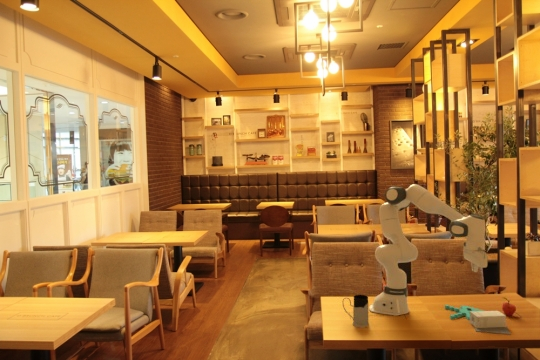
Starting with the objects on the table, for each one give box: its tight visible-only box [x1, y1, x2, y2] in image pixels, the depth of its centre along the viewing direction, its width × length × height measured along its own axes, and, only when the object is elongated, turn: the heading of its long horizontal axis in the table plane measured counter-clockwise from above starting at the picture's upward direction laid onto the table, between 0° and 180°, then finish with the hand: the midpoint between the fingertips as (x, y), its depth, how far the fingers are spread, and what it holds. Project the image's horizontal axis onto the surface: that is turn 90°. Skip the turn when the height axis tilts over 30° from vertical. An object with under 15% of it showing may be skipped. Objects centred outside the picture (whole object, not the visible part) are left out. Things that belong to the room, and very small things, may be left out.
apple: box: [501, 297, 517, 317], centre depth 263 cm, size 8×7×10 cm
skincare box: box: [469, 310, 507, 328], centre depth 247 cm, size 8×7×16 cm
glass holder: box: [342, 294, 370, 328], centre depth 252 cm, size 9×14×15 cm, turn 70°
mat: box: [473, 325, 512, 336], centre depth 244 cm, size 16×14×1 cm
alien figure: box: [444, 304, 485, 321], centre depth 266 cm, size 20×2×20 cm
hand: (474, 271), depth 249 cm, fingers closed
